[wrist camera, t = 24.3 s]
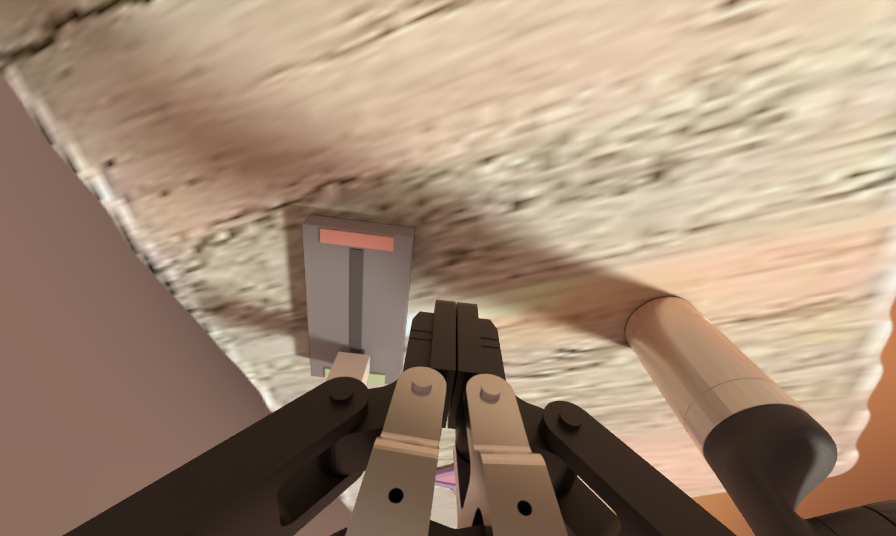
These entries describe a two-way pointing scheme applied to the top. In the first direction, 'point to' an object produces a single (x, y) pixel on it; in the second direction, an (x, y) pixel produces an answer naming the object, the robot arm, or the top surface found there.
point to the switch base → (357, 293)
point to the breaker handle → (350, 366)
